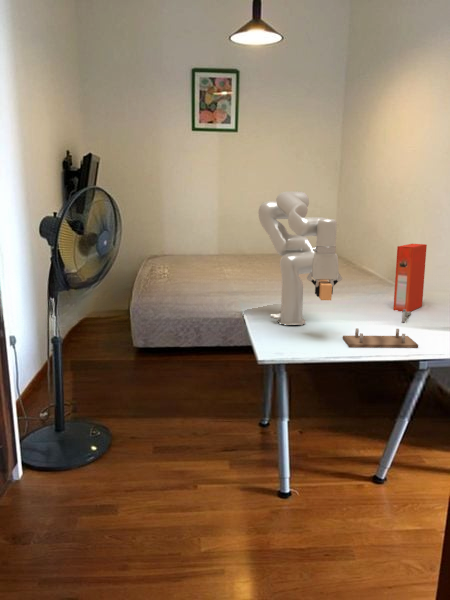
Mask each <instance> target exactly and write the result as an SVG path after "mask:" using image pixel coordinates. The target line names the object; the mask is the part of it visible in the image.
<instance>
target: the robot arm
mask: <svg viewBox="0 0 450 600" xmlns="http://www.w3.org/2000/svg"><path fill="white" fill-rule="evenodd" d="M309 204H310V200H309V196H308V195H307V193H305V192H304V191H283V192H282V191H281V192H280V193H279V194H278V195H277V197H276V198H275V200H268V201H265V202H262V203H261V204H260V205H259V207H258V212H257V213H258V219H259V220H258V221H259V222H260V225H261V227H262V228H263V230H264V231H265V232H266V234H267V235H268V237H269V239H270V242H271V243H272V245H273V248H274V249H275V252H276V253H277V254H278V255H279V256H281V258H280V260H279V267H280V274H281V298H280V299H281V300H280V301H281V304H280V306H281V307H280V311H279V313H270V318H271V319H273V320H276V319H277V321H278V322H279V323H281V324H286V325H301V326H304V325H305V324H306V322H307V321H306V319H304V318H303V304H304V303H303V302H304V282H303V279H301V276H300V275H305V274H308V275H307V276H306V279H307V280H308V281H309V282H311V283H312V284H313V285H314V295H316V296H317V297H318V298H319V291H320V287H319V282H320V280H327V281H328V282H329V283H330V284H331V285H332V295H333V294H334V293H333V292H334V286H335V285H337V283H339V282H340V281H342V280H343V277H342V276H341V274H340V273H339V257H338V253H336V246H337V245H336V244H337V230H338V229H337V228H338V227H337V226H338V224H337V220H336V219H334V218H327V217H325V216H324V217H322V216H317V217H316V216H315V217H314V216H313V217H312V216H308V217H307V214H308V212H309V211H308V207H309ZM278 220H287V222H288V226H289V229H291V231H293V233H294V234H290V233H289V231H288V230H287V228H286V226H285V225H284V224H283V223H281V222H280V221H278ZM308 237H316V243H315V247H314V246H313V245H312V243H311V241H310V239H309V238H308ZM277 321H276V322H277ZM278 322H277V323H278ZM279 323H278V324H279ZM281 324H280V325H281ZM303 324H304V325H303Z"/></svg>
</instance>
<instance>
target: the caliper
mask: <svg viewBox="0 0 450 600" xmlns="http://www.w3.org/2000/svg"><path fill="white" fill-rule="evenodd" d="M411 315H412V311H410V312H406V309H403V312H402V313H401V323H402V322H403V324H404V323H405V322H406V318H407V317H408V316H411Z"/></svg>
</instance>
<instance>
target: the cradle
mask: <svg viewBox="0 0 450 600" xmlns="http://www.w3.org/2000/svg"><path fill="white" fill-rule="evenodd" d="M354 330H355V335H342V340H343V341H344V342H345V344H346V345H347V347H348V348H355V349H357V348H358V349H359V348H360V349H361V348H365V349H366V348H372V349H373V348H374V349H375V348H377V349H378V348H379V349H380V348H381V349H382V348H384V349H385V348H386V349H387V348H388V349H395V348H396V349H419V344H418V343H417V342H415V340H414V339H412V338H411V337H410V336H408V335H406V333H401V335H400V328H395V335H364V333H359V332H360V330H359V328H355V329H354Z"/></svg>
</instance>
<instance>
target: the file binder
mask: <svg viewBox="0 0 450 600" xmlns="http://www.w3.org/2000/svg"><path fill="white" fill-rule="evenodd" d="M427 246H428V245H427V244H423V243H410V244H404V245H400V246H399V245H398V246H397V247H396V263H395V264H396V265H395V266H396V267H395V277H394V278H395V279H394V295H393V311H395V310H398V311H397V312H401V311H402V313H403V309H406V312H413V311H415V310H417V309H419V308H421V307H423V301H424V299H423V298H424V285H425V275H426V274H425V272H426V270H425V269H426V260H427V259H426V257H427Z"/></svg>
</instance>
